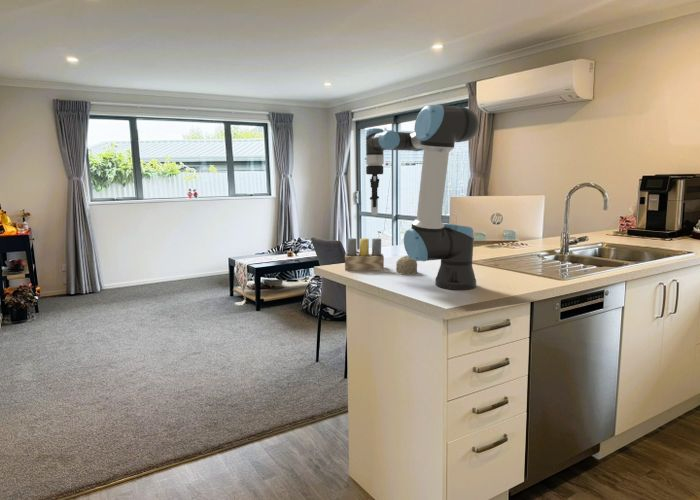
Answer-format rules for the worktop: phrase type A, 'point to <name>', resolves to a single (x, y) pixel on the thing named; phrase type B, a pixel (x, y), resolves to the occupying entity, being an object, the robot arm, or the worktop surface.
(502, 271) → the worktop surface
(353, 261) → the socket block
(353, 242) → the grey plug
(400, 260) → the sponge
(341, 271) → the worktop surface
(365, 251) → the mustard plug
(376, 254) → the grey plug
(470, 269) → the robot arm
